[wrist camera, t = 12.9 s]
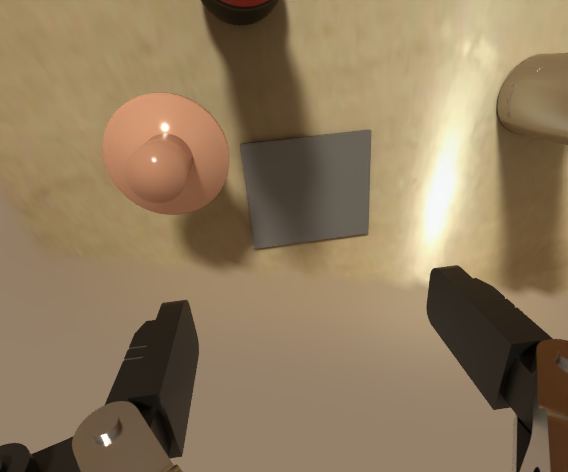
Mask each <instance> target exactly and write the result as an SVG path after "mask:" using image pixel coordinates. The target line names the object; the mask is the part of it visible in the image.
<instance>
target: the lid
mask: <svg viewBox="0 0 568 472" xmlns="http://www.w3.org/2000/svg"><path fill="white" fill-rule="evenodd" d="M103 157H104V161H105V165H106V168H107V171H108V173H109V175H110V177H111V179H112V181H113V182H114V183H115V185H116V186H117V188H118V189H119V190H120V191H121V192H122V193H123V194H124V195H125V196H126V197H127V198H128V199H130V200H131V201H132V202H134V203H135V204H137V205H139V206H141V207H142V208H145V209H147V210H150V211H153V212H156V213H160V214H168V215H178V214H185V213H190V212H193V211H196V210H198V209H200V208H202V207H204V206H205V205H207V204H208V203H209V202H211V201H212V200H213V199H214V198H215V197H216V196H217V195H218V193H219V192H220V190H221V189H222V187H223V185H224V183H225V181H226V178H227V175H228V170H229V148H228V144H227V140H226V138H225V135H224V133H223V131H222V129H221V127H220V125H219V124H218V123H217V121H216V120H215V118H214V117H213V116H212V115H211V114H210V113H209V112H208V111H207V110H206V109H205V108H203V107H202V106H201V105H199V104H198V103H196V102H194V101H192V100H190V99H189V98H186V97H183V96H181V95H177V94H172V93H163V92H162V93H150V94H145V95H142V96H139V97H136V98H134V99H132V100H130V101H128V102H127V103H125V104H124V105H122V106H121V107H120V108H119V109H118V110H117V111H116V112H115V113H114V115H113V116H112V117H111V119H110V121H109V123H108V125H107V127H106V130H105V133H104V138H103Z"/></svg>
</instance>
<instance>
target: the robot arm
mask: <svg viewBox="0 0 568 472" xmlns="http://www.w3.org/2000/svg"><path fill="white" fill-rule="evenodd" d="M497 109H498V116H499V118H500V121H501V123H502V124H503V126H504V127H505V128H507V129H508V130H510V131H512V132H514V133H519V134H523V135H528V136H532V137H537V138H540V139H545V140H549V141H554V142H558V143H563V144H567V145H568V53H556V54H540V55H536V56H533V57H530V58H528V59H526V60H524V61H523V62H521V63H520V64H519V65H518V66H517V67H515V69H514V70H513V71H512V72H511V73H510V74H509V76H508V77H507V79H506V80H505V82H504V84H503V86H502V88H501V90H500V94H499V97H498V105H497ZM427 315H428V318H429V321H430V323H431V325H432V326H433V327H434V329H435V330H436V332H437V333H438V334H439V336H440V337H441V339H442V340H443V341H444V342H445V344H446V345H447V347H448V348H449V349H450V351H451V352H452V354H453V355H454V356H455V358H456V359H457V360H458V362H459V363H460V365H461V366H462V367H463V368H464V370H465V371H466V373H467V374H468V376H469V377H470V378H471V380H472V381H473V382H474V384H475V385H476V386H477V388H478V389H479V390H480V392H481V393H482V395H483V396H484V397H485V399H486V400H487V401H488V403H489V404H490V406H491V407H492V408H493V410H496V409H503V408H509V407H511V408H512V409H513V411H514V412H515V413H516V415H515V418H514V424H513V426H514V427H513V457H512V472H568V341H567V340H561V339H552V338H551V337H550V336H549V335H548V334H547V333H546V332H544V331H543V330H542V329H541V328H540V327H539V326H538V325H536V324H535V323H534V322H533V321H532V320H531V319H529V318H528V317H527V316H526V315H525V314H524V313H523V312H522V311H520V310H519V309H518V308H515V306H514V304H512V303H511V302H510V301H509V300H508V299H505V297H504V296H503V295H502V294H501V293H500V292H499V291H498V290H496V289H495V288H494V287H493V286H491V285H489V284H487V283H485V282H483V281H481V280H479V279H477V278H472V277H471V276H470V275H468V274H467V273H466V272H465V271H464V270H463V269H462V268H461V267H459V266H457V265H455V266H447V267H440V268H434V269H432V271H431V274H430V281H429V290H428V298H427ZM198 355H199V344H198V337H197V333H196V329H195V325H194V321H193V317H192V313H191V309H190V306H189V303H188V301H187V300H181V301H174V302H167V303H162V305H161V307H160V310H159V313H158V315H157V318H156V320H152V321H146V322H145V323H144V324H143V325H142V326H141V327H140V328H139V330H138V331H137V332H136V333H135V334H134V337H133V339H132V341H131V344H130V346H129V350H128V351H127V353H126V356H125V358H124V359H125V360H124V361H123V363H122V365H121V368H120V370H119V372H118V375H117V377H116V380H115V382H114V384H113V386H112V389H111V391H110V394H109V396H108V398H107V401H106V403H105V405H104V406H102V407H100V408H99V409H97V410H95V411H94V412H92V413H91V414H90V415H89V416H88V417H87V418H85V420H84V421H83V422H82V423H81V424H80V425H79V427H78V428H77V430H76V432H75V434H74V436H73V437H71V438H69V439H67V440H64V441H62V442H60V443H57V444H55V445H52V446H50V447H48V448H45V449H43V450H41V451H38V452H36V453H33V454H31V453H30V452H29V450H28V449H27V447H26V446H24V445H22V444H19V443H11V444H5V445H2V446H0V472H182V470H181V469H180V468H179V466H178V465H175V466H174V465H173V463H172V462H171V461H170V459H169V458H175V457H182V454H183V448H184V442H185V436H186V429H187V423H188V417H189V411H190V405H191V399H192V393H193V386H194V381H195V375H196V368H197V362H198Z"/></svg>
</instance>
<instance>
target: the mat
mask: <svg viewBox="0 0 568 472" xmlns="http://www.w3.org/2000/svg"><path fill="white" fill-rule="evenodd" d="M240 147H241V154H242V162H243V169H244V176H245V183H246V191H247V198H248V205H249V212H250V220H251V227H252V234H253V241H254V249H258V248H265V247H272V246H280V245H287V244H294V243H301V242H309V241H316V240H323V239H331V238H338V237H345V236H352V235H360V234H367V233H368V226H369V191H370V157H371V130H362V131H353V132H344V133H335V134H326V135H317V136H308V137H299V138H290V139H281V140H272V141H263V142H254V143H245V144H240Z"/></svg>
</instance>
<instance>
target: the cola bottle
mask: <svg viewBox="0 0 568 472" xmlns="http://www.w3.org/2000/svg"><path fill="white" fill-rule="evenodd" d="M201 1H202V3H203V4H204V5H205V7H206V8H207V9H208V10H209V11H210V12H211V13H212V14H213V15H214V16H216V17H217V18H219V19H220V20H222V21H224V22H226V23H229V24H233V25H250V24H253V23H256V22H258V21H260V20H261V19H263V18H264V17H266V16H267V15H268V14H269V13H270V12H271V11H272V9H273V8H274V7H275V5H276V3H277V2H278V0H201Z"/></svg>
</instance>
